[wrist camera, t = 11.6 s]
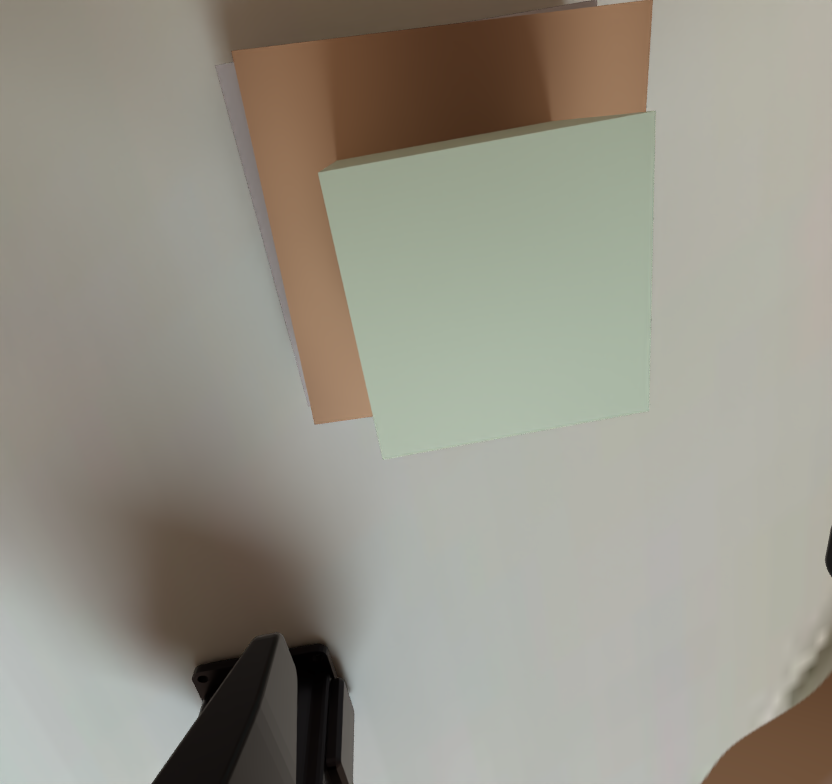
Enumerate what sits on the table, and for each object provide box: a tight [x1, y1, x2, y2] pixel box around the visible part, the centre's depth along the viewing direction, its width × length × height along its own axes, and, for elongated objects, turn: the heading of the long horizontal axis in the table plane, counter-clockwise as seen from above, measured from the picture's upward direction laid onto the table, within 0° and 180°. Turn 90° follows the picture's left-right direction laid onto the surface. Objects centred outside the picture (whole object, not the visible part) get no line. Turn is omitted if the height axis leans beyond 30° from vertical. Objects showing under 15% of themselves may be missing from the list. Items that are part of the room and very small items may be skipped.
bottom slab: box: [215, 0, 597, 407], centre depth 18 cm, size 10×10×3 cm
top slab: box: [231, 0, 653, 424], centre depth 15 cm, size 9×9×3 cm
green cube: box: [318, 111, 656, 460], centre depth 11 cm, size 5×5×5 cm
